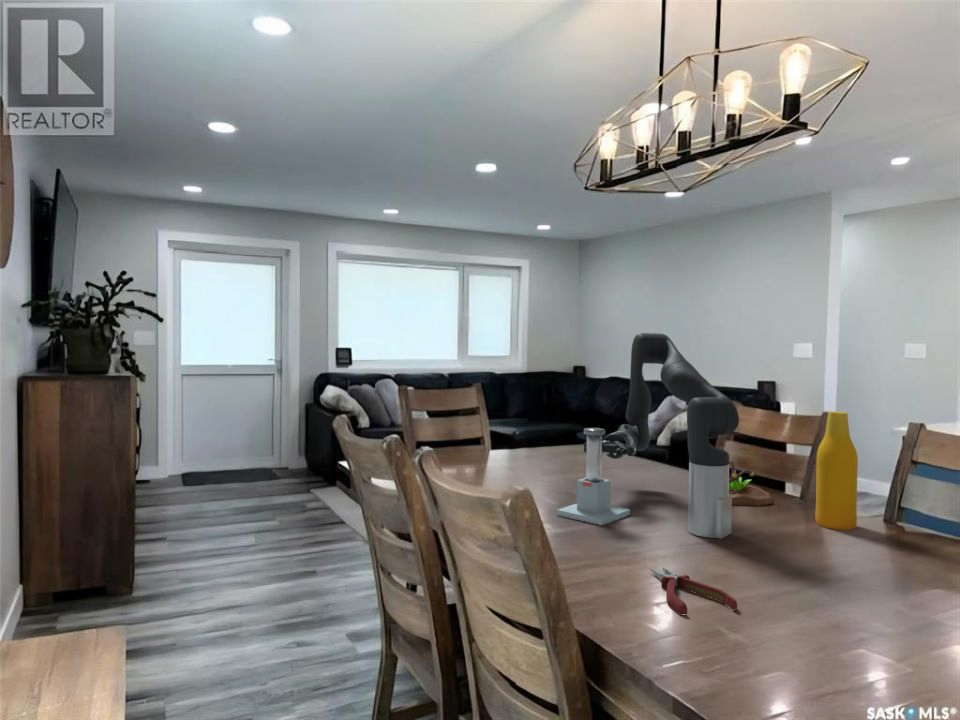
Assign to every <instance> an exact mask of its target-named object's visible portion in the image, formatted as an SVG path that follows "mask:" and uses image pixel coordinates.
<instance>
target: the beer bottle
mask: <svg viewBox="0 0 960 720" xmlns="http://www.w3.org/2000/svg"><path fill="white" fill-rule="evenodd" d="M849 426H850V425H849V417H848V412H844V411H828V413H827V420H826V427H825V434H824V437H823V438H822V440H821V441H820V444H819V445H818V448H817V452H816V476H815V477H816V481H815V483H816V484H815V516H814V517H815V523H816V524H817V525H818V526H820V527H822V528H826V529H830V530H831V529H832V530H837V531H838V530H839V531H852V530H855V528H856V527H857V522H858V521H857V518H858V517H857V514H858V513H857V512H858V511H857V508H858V507H857V506H858V503H857V502H858V464H859V463H858V460H859V459H858V453H857V450H856V447H855V445H854V442H853V441H852V439H851V436H850V428H849Z"/></svg>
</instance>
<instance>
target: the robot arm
mask: <svg viewBox="0 0 960 720" xmlns="http://www.w3.org/2000/svg"><path fill="white" fill-rule="evenodd" d="M645 364H653V365H654V364H655V365H656V364H657V365H662V366H661V370H660V379H661V383H662V385H664V387H665V388H666V389H667V391H668V392H669V393H670V394H671V395H672V396H674V397H675V398H676V399H678V400H680V401H682V402H685V403H687V404H688V405H687V409H686V426H687V427H686V428H687V450H688V456H689V458H688V462H689V463H688V508H687V509H688V513H687V514H688V515H687V516H688V517H687V518H688V521H687V528H688V529H687V531H688V532H689V533H690V534H692V535H694V536H698V537H704V538H711V539H720V540H722V539H724V538H726V537H727V536H729V535H731V534H732V521H733V520H732V519H733V517H732V515H733V512H732V511H733V510H732V509H733V508H732V507H733V505H732V495H730V494H729V478H730V465H729V461H730V453H729V452H727V451H726V450H724V449H722V448H717V447H715V446H714V445H713V444H711V443H710V440H709V439H710V438H709V436H724V435H725V436H726V435H729V434H732V433H734V432H735V431H736V430H737V428H738V426H739V424H740V417H739V412H738V409H737V407H736V405H735V403H734V402H733V401H732V399H730V398H729V397H728V396H727V395H725V394H724V393H722V391H719V390H718V389H717V388H716V387H714V386H713V385H712V384H711V383H710V382H709V381H708V380H707V379H706V378H704V377H703V375H702V374H701V373H700V372H699V371H698V370H697V369H696V368H695V367H694V365H693V364H691V363H690V362H689V361H688V360H687V359H686V358H685V357H684V356H683V355H682V353H681V352H680V351H679V350H678V348H677V347H676V345H675V344H674V342H673V341H672V339H671V338H670V337H669V336H668V335H666V334H664V333H658V332H657V333H656V332H655V333H652V332H651V333H650V332H649V333H648V332H639V333H637V334H636V335H635V336H634V338H633V341H632V344H631V354H630V371H629V373H630V377H629V378H630V379H629V394H628V400H627V407H626V411H625V418H626V420H627V422H629V423H630V424H626V423H623V424H621V425H619V426H618V428H617V431H615V432H612V433H609V434H607V435H606V436H605V437H604V438H603V439H602V455H605V456H606V457H609V458H610V459H614V460H616V459H621V458H623V457H626V455H627V456H628V457H633V456H634V455H636V453H637V451H640V452H642V451H644V450H646V449H647V448H648V447H649V445H650V440H651V437H650V435H651V434H650V428H649V417H650V415H649V414H650V410H651V405H652V395H651V391H650V389H649V387H648V385H647V382H646V381H645V378H644V374H643V366H644V365H645ZM583 452H584V453H586V455H587V442H585V443H583Z"/></svg>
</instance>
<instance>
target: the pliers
mask: <svg viewBox="0 0 960 720" xmlns="http://www.w3.org/2000/svg"><path fill="white" fill-rule="evenodd" d="M649 570H650V571H651V572H652V574H654V575H655V576H656V577H657V578H658V580H659V581H660V583H661V587H662V588H661V587H660V588H661V589H665V588H667V589H666V593H665V595H666V597H665V599H666V604H667V605H668V607H669V606H670V607H672V608H673V609H674V610H675V611H677V612H678V613H680V614H687V615H688V607H687V604H686V602H685V601H683V600H682V599H681V598H679V597H678V596H677V595H676V593H675V591H676V590H675V588H676V587H675V586H678V587H680V588H679V589H681V588H683V589H682V590H684V589H686V590H685V591H687V590H689V591H688V592H690V591H693V592H696V593H699V594H702V595H705V596H709V597H712V598H714V599H717V600H719V601H721V602H723V603H724V604H726V605H727V606H728V607H730V608H731V609H733V610H735V609H736V610H737V608H738V603H737V600H736V599H735V598H734V597H732V596H731V595H730V594H728V592H726V591H724V590H722V589H719V588H716V587H714V586H711V585H707V584H705V583H701V582H699V581H697V580H692V579H691V578H690V576H689V575H686V574H684V575H677V574H676V573H675V572H673V571H671V570H670V569H667V568H665V567H662V570H661V569H656V568H653V567H649ZM678 587H677V588H678ZM693 592H692V593H693ZM696 593H695V594H696ZM699 594H698V595H699ZM702 595H701V596H702ZM705 596H704V597H705ZM714 599H713V600H714ZM670 607H669V608H670ZM672 608H671V609H672ZM673 609H672V610H673ZM674 610H673V611H674ZM675 611H674V612H675ZM677 612H676V613H677ZM678 613H677V614H678ZM680 614H679V615H680Z"/></svg>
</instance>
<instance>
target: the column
mask: <svg viewBox="0 0 960 720" xmlns="http://www.w3.org/2000/svg"><path fill="white" fill-rule="evenodd" d="M583 435H586V443H587V454H586V464H585V465H586V466H585V467H586V470H585V471H586V475H585V478H586V481H589V482H594V483H598V482H601V478H602V467H603V466H602V463H603V462H602V461H603V460H602V458H603V456H602V455H603V454H602V441H603V436H605V435H606V429H605V428H600V427H585V428H584V429H583Z"/></svg>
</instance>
